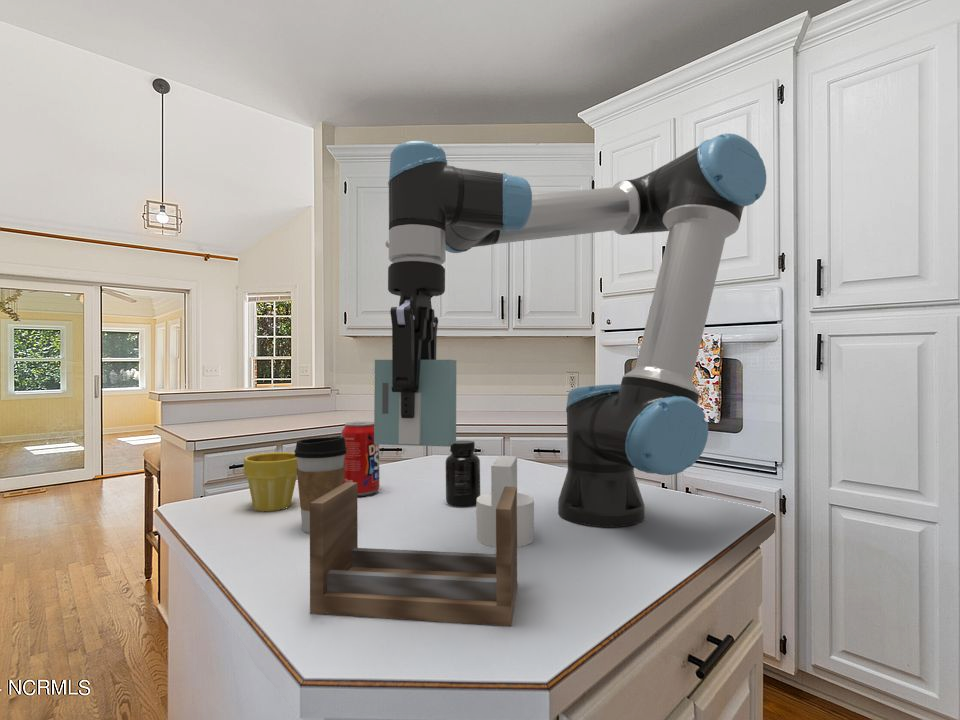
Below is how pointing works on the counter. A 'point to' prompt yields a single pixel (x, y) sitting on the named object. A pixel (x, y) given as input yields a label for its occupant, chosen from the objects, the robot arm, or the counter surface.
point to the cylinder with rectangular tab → (487, 503)
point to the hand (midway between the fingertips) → (415, 440)
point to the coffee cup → (318, 470)
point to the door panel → (435, 404)
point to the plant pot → (271, 479)
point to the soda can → (361, 457)
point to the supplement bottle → (462, 475)
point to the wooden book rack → (409, 570)
